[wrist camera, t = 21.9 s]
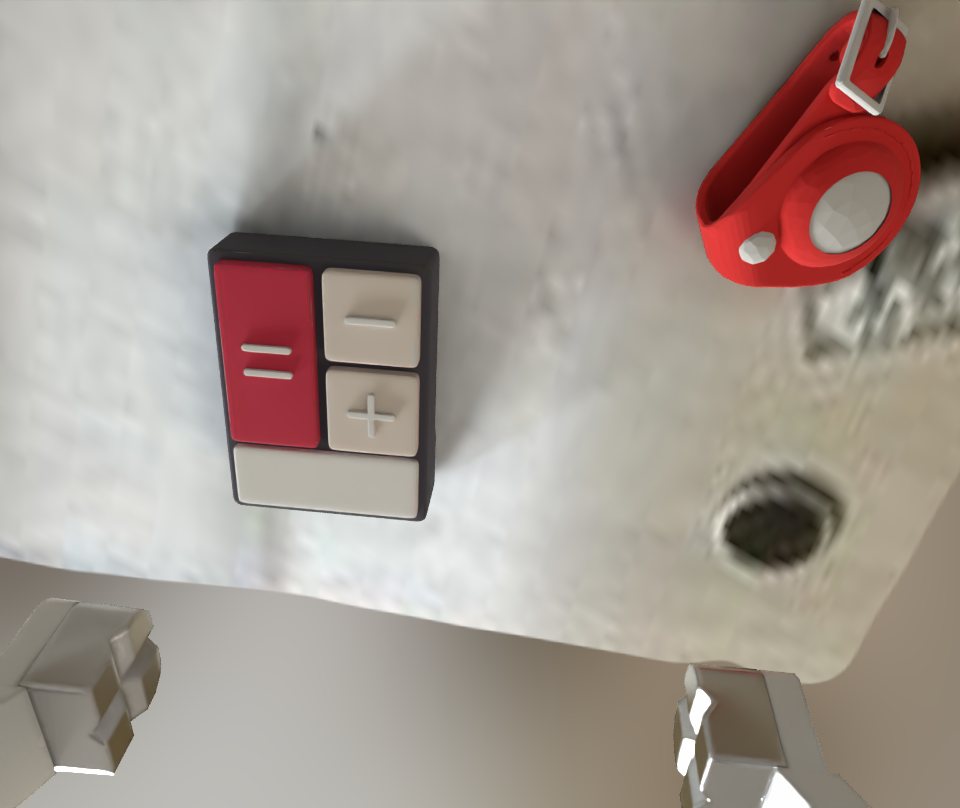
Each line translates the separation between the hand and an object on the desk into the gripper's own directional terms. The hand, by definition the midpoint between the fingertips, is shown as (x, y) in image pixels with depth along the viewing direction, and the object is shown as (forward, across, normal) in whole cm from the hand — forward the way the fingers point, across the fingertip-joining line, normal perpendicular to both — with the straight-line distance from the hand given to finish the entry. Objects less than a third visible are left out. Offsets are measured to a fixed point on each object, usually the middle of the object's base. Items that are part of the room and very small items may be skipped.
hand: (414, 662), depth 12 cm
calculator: (+31, +9, +13) cm, 35 cm away
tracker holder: (+31, -14, -1) cm, 34 cm away
